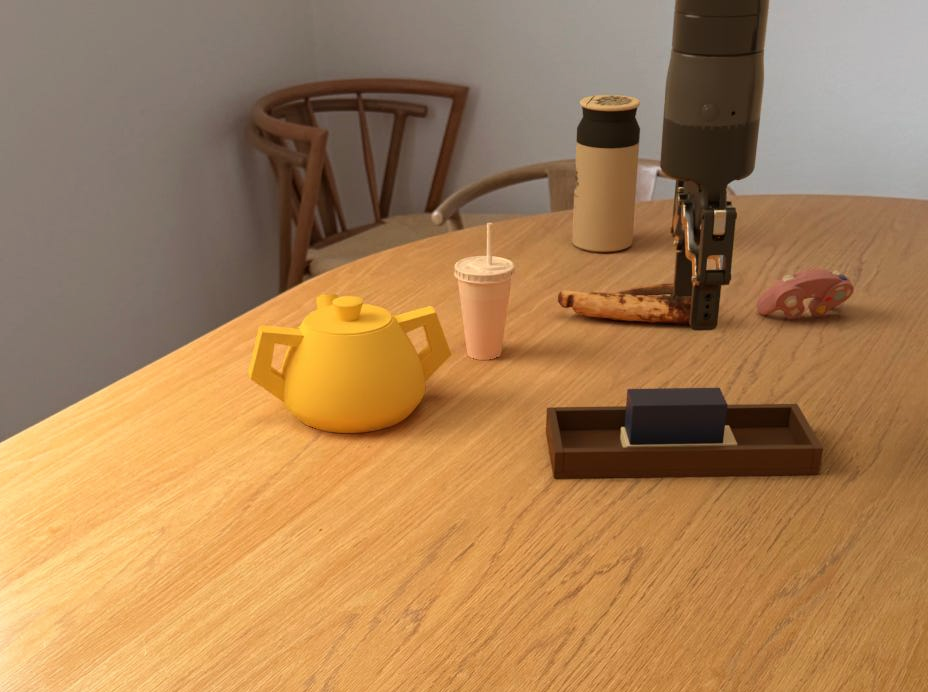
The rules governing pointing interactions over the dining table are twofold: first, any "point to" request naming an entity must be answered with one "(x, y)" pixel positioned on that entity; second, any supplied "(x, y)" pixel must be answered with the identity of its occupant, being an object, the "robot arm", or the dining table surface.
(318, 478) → the dining table surface
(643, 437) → the navy block
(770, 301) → the video game controller
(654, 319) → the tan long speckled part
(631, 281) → the dining table surface
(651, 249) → the dining table surface
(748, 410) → the shallow brown tray
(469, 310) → the smoothie
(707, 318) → the robot arm
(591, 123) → the travel mug
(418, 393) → the teapot
